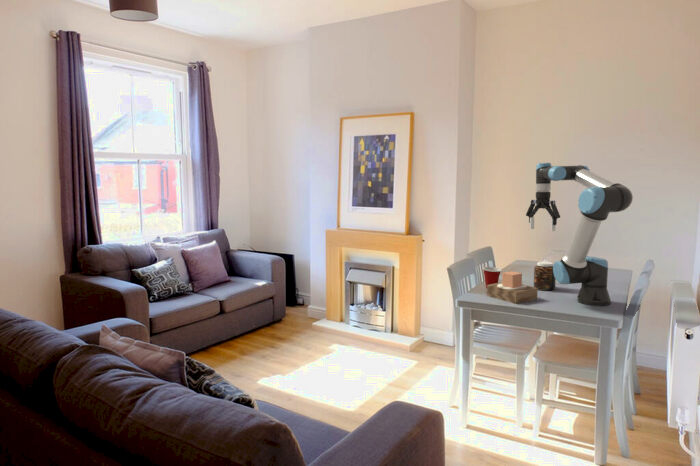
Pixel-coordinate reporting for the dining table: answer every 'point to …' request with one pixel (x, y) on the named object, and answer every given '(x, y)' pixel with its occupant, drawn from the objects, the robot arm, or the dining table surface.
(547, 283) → the jar
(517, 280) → the terracotta cube
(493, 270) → the plastic cup
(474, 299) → the dining table surface
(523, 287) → the block
